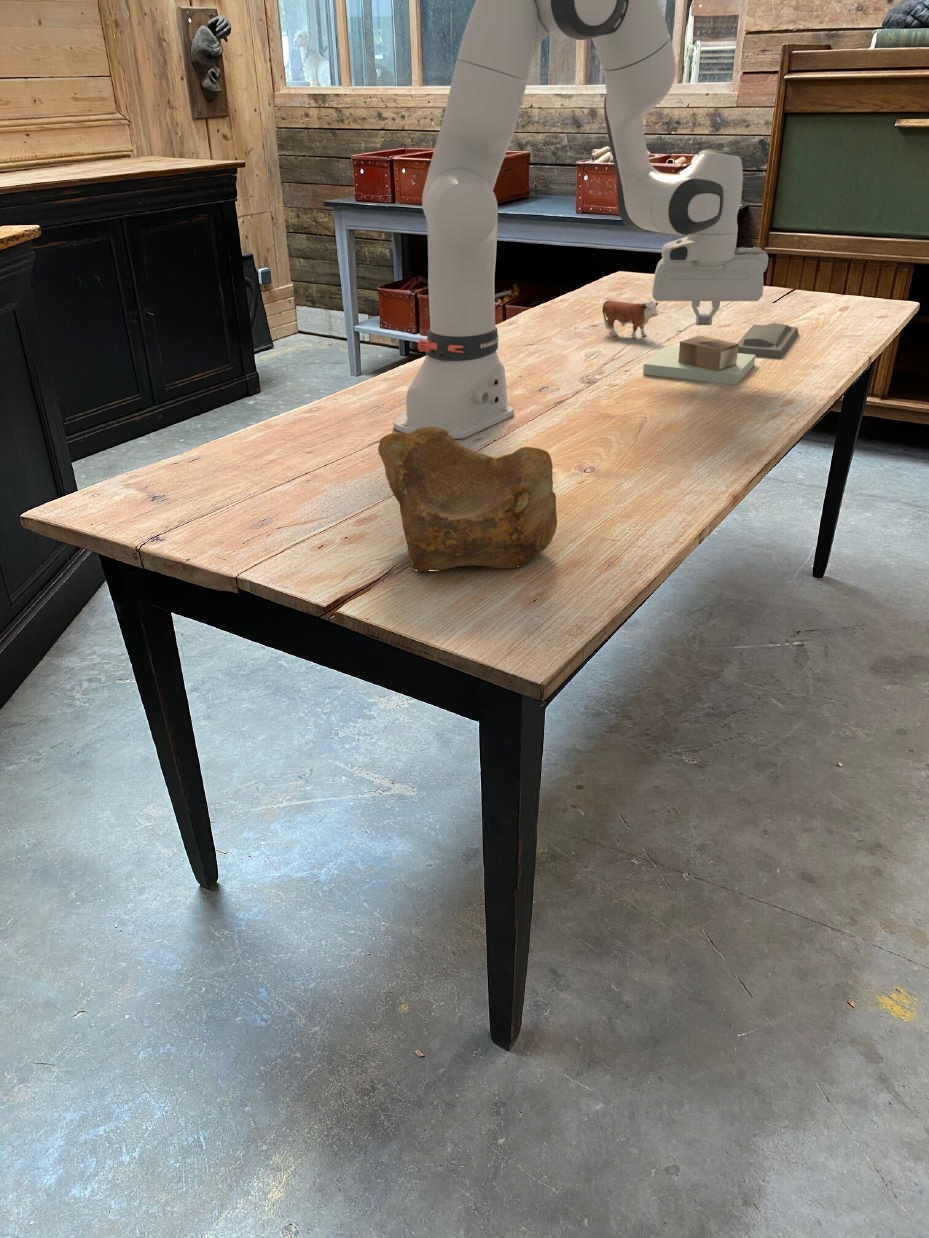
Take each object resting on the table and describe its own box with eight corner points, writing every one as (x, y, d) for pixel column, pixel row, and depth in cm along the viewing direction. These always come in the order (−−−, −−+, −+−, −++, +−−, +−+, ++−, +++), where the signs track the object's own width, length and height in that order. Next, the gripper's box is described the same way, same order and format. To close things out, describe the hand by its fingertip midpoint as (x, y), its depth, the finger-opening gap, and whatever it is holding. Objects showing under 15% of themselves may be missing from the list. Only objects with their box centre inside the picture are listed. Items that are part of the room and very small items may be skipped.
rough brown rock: (344, 577, 116) (330, 470, 108) (400, 514, 129) (392, 412, 120) (520, 613, 109) (520, 501, 100) (562, 542, 121) (565, 437, 113)
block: (678, 362, 181) (718, 372, 175) (680, 341, 179) (720, 350, 173) (697, 356, 184) (737, 365, 178) (699, 335, 182) (739, 344, 176)
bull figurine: (652, 342, 201) (655, 303, 197) (598, 334, 209) (599, 296, 204) (662, 338, 204) (665, 299, 200) (608, 330, 211) (609, 293, 207)
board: (736, 385, 174) (737, 374, 173) (643, 374, 182) (643, 364, 181) (754, 365, 185) (755, 354, 184) (665, 355, 192) (666, 346, 191)
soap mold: (799, 337, 204) (801, 320, 202) (781, 361, 188) (784, 343, 187) (751, 333, 208) (753, 316, 206) (730, 356, 193) (732, 339, 191)
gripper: (767, 244, 173) (758, 320, 180) (654, 245, 176) (649, 320, 183) (771, 250, 168) (761, 329, 175) (655, 251, 171) (650, 328, 178)
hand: (703, 324), depth 179 cm, fingers closed
